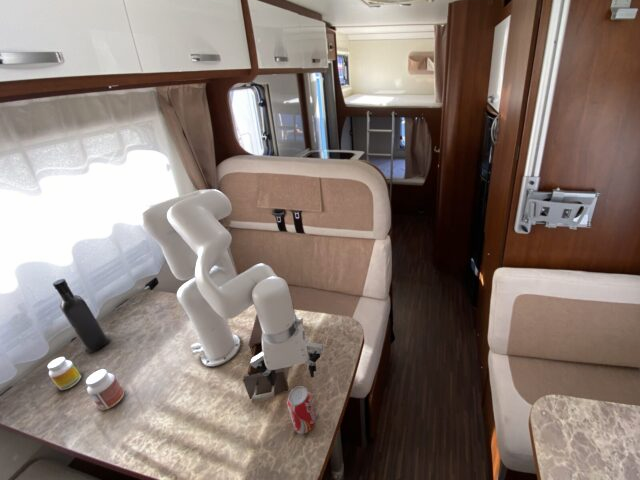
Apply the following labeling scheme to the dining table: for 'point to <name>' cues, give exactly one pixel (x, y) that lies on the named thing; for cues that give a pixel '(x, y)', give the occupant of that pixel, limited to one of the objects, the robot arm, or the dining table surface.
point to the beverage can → (301, 409)
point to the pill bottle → (104, 389)
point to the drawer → (264, 381)
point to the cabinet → (256, 334)
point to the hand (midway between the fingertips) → (293, 376)
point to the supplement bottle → (63, 373)
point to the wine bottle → (80, 317)
